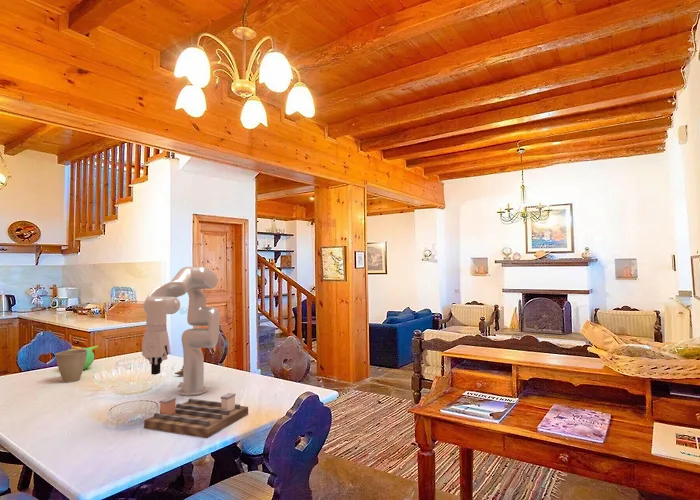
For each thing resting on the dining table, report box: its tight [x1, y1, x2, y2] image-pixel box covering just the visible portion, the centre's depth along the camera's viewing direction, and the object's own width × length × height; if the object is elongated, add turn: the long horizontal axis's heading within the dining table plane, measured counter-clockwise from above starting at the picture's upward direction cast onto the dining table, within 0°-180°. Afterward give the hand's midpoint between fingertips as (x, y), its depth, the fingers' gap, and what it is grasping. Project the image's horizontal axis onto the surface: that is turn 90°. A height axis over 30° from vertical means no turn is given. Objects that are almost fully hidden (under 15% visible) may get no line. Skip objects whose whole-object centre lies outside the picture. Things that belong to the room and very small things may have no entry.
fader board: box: [143, 398, 249, 439], centre depth 168 cm, size 30×26×5 cm
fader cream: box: [220, 392, 236, 411], centre depth 171 cm, size 3×5×6 cm, turn 160°
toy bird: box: [66, 345, 99, 370], centre depth 258 cm, size 18×17×15 cm
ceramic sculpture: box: [174, 366, 183, 376], centre depth 243 cm, size 11×9×15 cm
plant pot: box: [55, 349, 87, 383], centre depth 232 cm, size 15×15×16 cm
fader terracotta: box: [158, 396, 177, 415], centre depth 166 cm, size 3×5×6 cm, turn 160°
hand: (155, 373), depth 169 cm, fingers closed
